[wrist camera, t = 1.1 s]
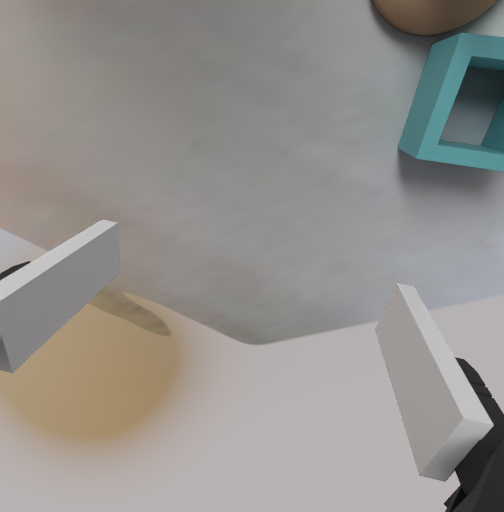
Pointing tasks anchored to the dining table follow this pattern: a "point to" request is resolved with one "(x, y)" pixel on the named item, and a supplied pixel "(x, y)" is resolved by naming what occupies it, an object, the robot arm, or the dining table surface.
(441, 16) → the post base
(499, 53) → the collar
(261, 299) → the dining table surface
